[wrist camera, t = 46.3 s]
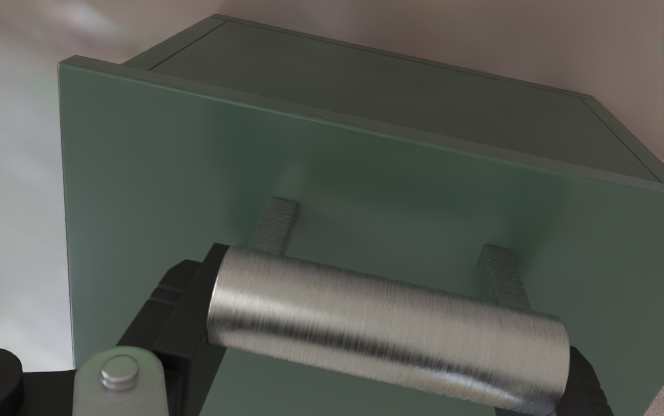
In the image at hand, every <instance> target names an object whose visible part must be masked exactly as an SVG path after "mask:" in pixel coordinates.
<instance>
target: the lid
mask: <svg viewBox="0 0 664 416" xmlns="http://www.w3.org/2000/svg"><path fill="white" fill-rule="evenodd" d="M57 71H58V89H59V108H60V127H61V146H62V164H63V183H64V202H65V221H66V239H67V258H68V277H69V296H70V314H71V333H72V352H73V370H74V369H78V368H79V366H80V365H81V364H82V363H83V362H84V361H85V360H86V359H87V358H88V357H90V356H91V355H92V354H94V353H96V352H98V351H100V350H103V349H106V348H110V347H115V346H116V344H117V343H118V341H119V340H120V339H121V337H122V336H123V334H124V333H125V331H126V330H127V328H128V327H129V326H130V324H131V323H132V321H133V320H134V318H135V317H136V315H137V314H138V312H139V311H140V310H141V308H142V307H143V305H144V304H145V302H146V301H147V300H149V296H150V295H151V294H152V292H153V291H154V289H155V288H157V286H158V283H159V282H160V281H161V279H162V278H163V276H164V275H165V273H166V272H167V270H168V269H170V268H172V267H173V266H175V265H177V264H178V263H180V262H182V261H183V260H185V259H189V260H193V261H198V262H203V260H204V259H205V257H206V255H207V254H208V252H209V250H210V249H211V247H212V245H213V244H214V243H215V242H216V243H220V244H225V245H229V246H230V248H229V249H228V251H227V252H226V254H225V256H224V258H223V260H222V263H221V265H220V268H219V271H218V274H217V277H216V280H215V284H214V287H213V291H212V295H211V300H210V304H209V309H208V315H207V323H206V338H207V341H208V342H209V343H210V344H215V345H219V346H224V347H227V350H226V352H225V354H224V357H223V359H222V362H221V364H220V366H219V369H218V371H217V374H216V376H215V378H214V381H213V383H212V386H211V388H210V390H209V393H208V395H207V398H206V400H205V402H204V405H203V407H202V410H201V412H200V414H199V416H496V414H495V409H494V407H497V408H502V409H506V410H511V411H515V412H520V413H524V414H529V415H533V416H547V415H549V414H550V413H551V412H552V411H553V410H554V409H555V408H556V407H557V406H558V404H559V402H560V400H561V398H562V396H563V393H564V390H565V387H566V384H567V379H568V374H569V366H570V346H574V347H576V348H577V349H578V350H579V351H580V353H581V354H582V355H583V356H584V357H585V358H586V359H587V360H588V362H589V363H590V364H591V365H592V366H593V369H594V371H595V373H596V375H597V378H598V380H599V382H600V384H601V386H600V389H603V391H604V394H605V396H606V398H607V400H608V402H607V405H610V407H611V409H612V412H613V414H614V416H643V415H644V414H645V412H646V411H647V409H648V408H649V406H650V405H651V403H652V402H653V400H654V399H655V397H656V396H657V394H658V393H659V391H660V390H661V388H662V387H663V385H664V184H663V183H658V182H653V181H649V180H644V179H640V178H635V177H631V176H626V175H622V174H617V173H612V172H608V171H603V170H599V169H594V168H590V167H585V166H580V165H576V164H571V163H567V162H562V161H558V160H553V159H549V158H544V157H539V156H535V155H530V154H526V153H521V152H517V151H512V150H507V149H503V148H498V147H494V146H489V145H485V144H480V143H476V142H471V141H466V140H462V139H457V138H453V137H448V136H444V135H439V134H434V133H430V132H425V131H421V130H416V129H412V128H407V127H402V126H398V125H393V124H389V123H384V122H380V121H375V120H371V119H366V118H361V117H357V116H352V115H348V114H343V113H339V112H334V111H329V110H325V109H320V108H316V107H311V106H307V105H302V104H298V103H293V102H288V101H284V100H279V99H275V98H270V97H266V96H261V95H256V94H252V93H247V92H243V91H238V90H234V89H229V88H225V87H220V86H215V85H211V84H206V83H202V82H197V81H193V80H188V79H183V78H179V77H174V76H170V75H165V74H161V73H156V72H152V71H147V70H142V69H138V68H133V67H129V66H124V65H120V64H115V63H110V62H106V61H101V60H97V59H92V58H88V57H83V56H79V55H74V56H72V57H69V58H67V59H65V60H62V61H60V62H59V63H58V65H57Z"/></svg>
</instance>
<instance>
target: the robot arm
mask: <svg viewBox="0 0 664 416" xmlns="http://www.w3.org/2000/svg"><path fill="white" fill-rule="evenodd" d="M229 248H230V246H229V245H225V244H220V243H216V242H215V243H214V244H213V245H212V247H211V249H210V250H209V252H208V254H207V255H206V257H205V259H204V260H203V262H198V261H193V260H189V259H185V260H183V261H182V262H180V263H178V264H177V265H175V266H173V267H172V268H170V269H168V270H167V272H166V273H165V275H164V276H163V278H162V279H161V281H160V282H159V283H158V286H157V288H155V289H154V291H153V292H152V294H151V295H150V296H149V300H147V301H146V302H145V304H144V305H143V307H142V308H141V310H140V311H139V312H138V314H137V315H136V317H135V318H134V320H133V321H132V323H131V324H130V326H129V327H128V328H127V330H126V331H125V333H124V334H123V336H122V337H121V339H120V340H119V341H118V343H117V344H116V346H115V347H110V348H106V349H103V350H100V351H98V352H96V353H94V354H92V355H91V356H90V357H88V358H87V359H86V360H85V361H84V362H83V363H82V364H81V365H80V366H79V368H78V369H74V370H69V371H53V372H23V371H22V364H21V362H20V360H19V359H18V358H17V356H16V355H14V354H13V353H11V352H9V351H7V350H5V349H1V348H0V416H199V414H200V412H201V410H202V407H203V405H204V402H205V400H206V398H207V395H208V393H209V390H210V388H211V386H212V383H213V381H214V378H215V376H216V374H217V371H218V369H219V366H220V364H221V362H222V359H223V357H224V354H225V352H226V350H227V347H224V346H219V345H215V344H210V343H209V342H208V341H207V338H206V323H207V315H208V309H209V304H210V300H211V295H212V291H213V287H214V284H215V280H216V277H217V274H218V271H219V268H220V265H221V263H222V260H223V258H224V256H225V254H226V252H227V251H228V249H229ZM600 386H601V384H600V382H599V380H598V378H597V375H596V373H595V371H594V369H593V366H592V365H591V364H590V363H589V362H588V360H587V359H586V358H585V357H584V356H583V355H582V354H581V353H580V351H579V350H578V349H577V348H576V347H574V346H570V366H569V374H568V379H567V384H566V387H565V390H564V393H563V396H562V398H561V400H560V402H559V404H558V406H557V407H556V408H555V409H554V410H553V411H552V412H551V413H550V414H549V415H547V416H614V414H613V412H612V409H611V407H610V405H607V402H608V400H607V398H606V396H605V394H604V391H603V389H600ZM494 409H495V414H496V416H533V415H529V414H524V413H520V412H515V411H511V410H506V409H502V408H497V407H494Z"/></svg>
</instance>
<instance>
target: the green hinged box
mask: <svg viewBox="0 0 664 416" xmlns="http://www.w3.org/2000/svg"><path fill="white" fill-rule="evenodd" d="M120 65H124V66H129V67H133V68H138V69H142V70H147V71H152V72H156V73H161V74H165V75H170V76H174V77H179V78H183V79H188V80H193V81H197V82H202V83H206V84H211V85H215V86H220V87H225V88H229V89H234V90H238V91H243V92H247V93H252V94H256V95H261V96H266V97H270V98H275V99H279V100H284V101H288V102H293V103H298V104H302V105H307V106H311V107H316V108H320V109H325V110H329V111H334V112H339V113H343V114H348V115H352V116H357V117H361V118H366V119H371V120H375V121H380V122H384V123H389V124H393V125H398V126H402V127H407V128H412V129H416V130H421V131H425V132H430V133H434V134H439V135H444V136H448V137H453V138H457V139H462V140H466V141H471V142H476V143H480V144H485V145H489V146H494V147H498V148H503V149H507V150H512V151H517V152H521V153H526V154H530V155H535V156H539V157H544V158H549V159H553V160H558V161H562V162H567V163H571V164H576V165H580V166H585V167H590V168H594V169H599V170H603V171H608V172H612V173H617V174H622V175H626V176H631V177H635V178H640V179H644V180H649V181H653V182H658V183H663V184H664V164H663V163H662V162H661V161H660V160H659V159H658V158H657V157H656V156H655V155H654V154H653V153H652V152H651V151H650V150H649V149H648V148H647V147H645V146H644V145H643V144H642V143H641V142H640V141H639V140H638V139H637V138H636V137H635V136H634V135H633V134H632V133H631V132H630V131H629V130H628V129H627V128H626V127H625V126H624V125H623V124H621V123H620V122H619V121H618V120H617V119H616V118H615V117H614V116H613V115H612V114H611V113H610V112H609V111H608V110H607V109H606V108H605V107H604V106H603V105H602V104H601V103H600V102H598V101H597V100H596V99H595V98H594V97H592V96H590V95H585V94H580V93H576V92H571V91H567V90H562V89H558V88H553V87H548V86H544V85H539V84H535V83H530V82H525V81H521V80H516V79H512V78H507V77H503V76H498V75H493V74H489V73H484V72H480V71H475V70H470V69H466V68H461V67H457V66H452V65H448V64H443V63H438V62H434V61H429V60H425V59H420V58H415V57H411V56H406V55H402V54H397V53H393V52H388V51H383V50H379V49H374V48H370V47H365V46H360V45H356V44H351V43H347V42H342V41H338V40H333V39H328V38H324V37H319V36H315V35H310V34H305V33H301V32H296V31H292V30H287V29H283V28H278V27H273V26H269V25H264V24H260V23H255V22H250V21H246V20H241V19H237V18H232V17H228V16H223V15H218V14H214V15H212V16H210V17H207V18H205V19H204V20H202V21H200V22H198V23H196V24H194V25H193V26H191V27H189V28H187V29H185V30H183V31H181V32H180V33H178V34H176V35H174V36H172V37H170V38H169V39H167V40H165V41H163V42H161V43H159V44H157V45H156V46H154V47H152V48H150V49H148V50H146V51H145V52H143V53H141V54H139V55H137V56H135V57H133V58H132V59H130V60H128V61H126V62H124V63H122V64H120Z"/></svg>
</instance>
